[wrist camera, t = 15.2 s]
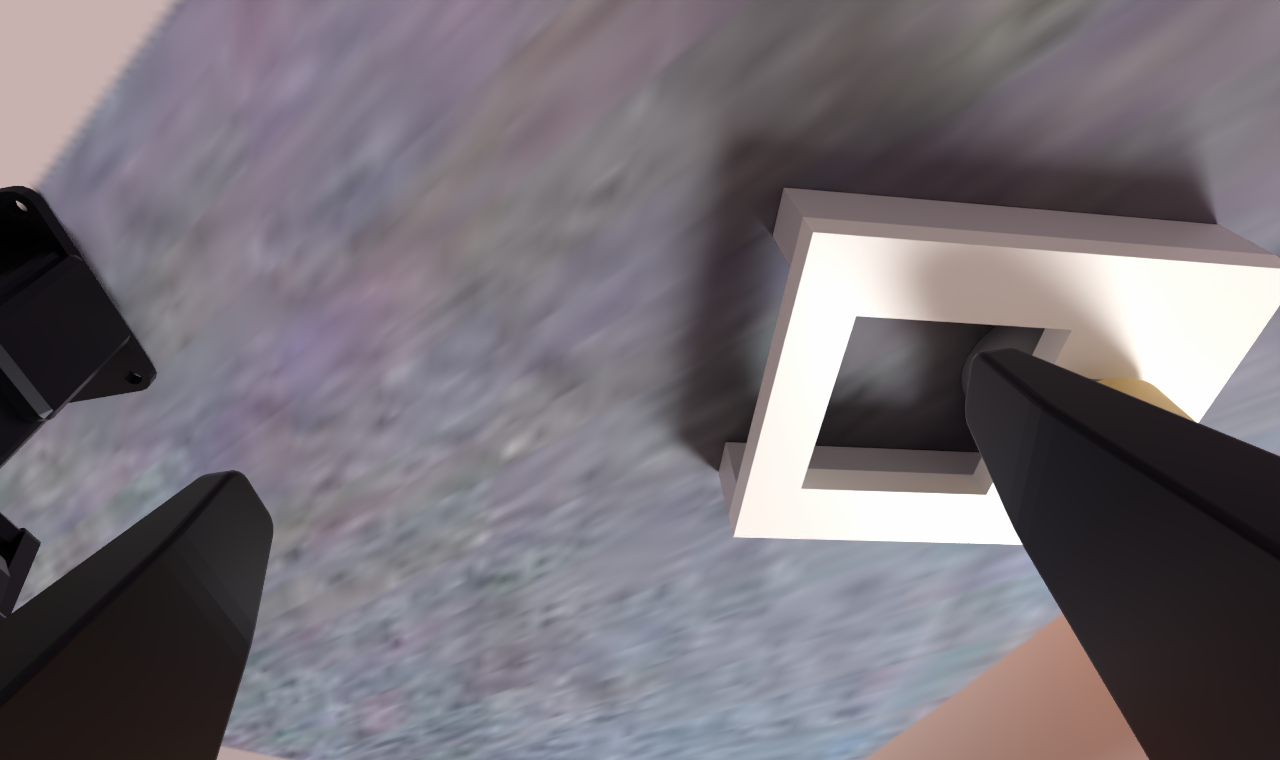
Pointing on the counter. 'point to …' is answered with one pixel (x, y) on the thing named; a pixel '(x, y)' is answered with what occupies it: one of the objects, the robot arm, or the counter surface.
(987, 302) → the keyhole plate
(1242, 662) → the robot arm
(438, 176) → the counter surface
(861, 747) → the counter surface
